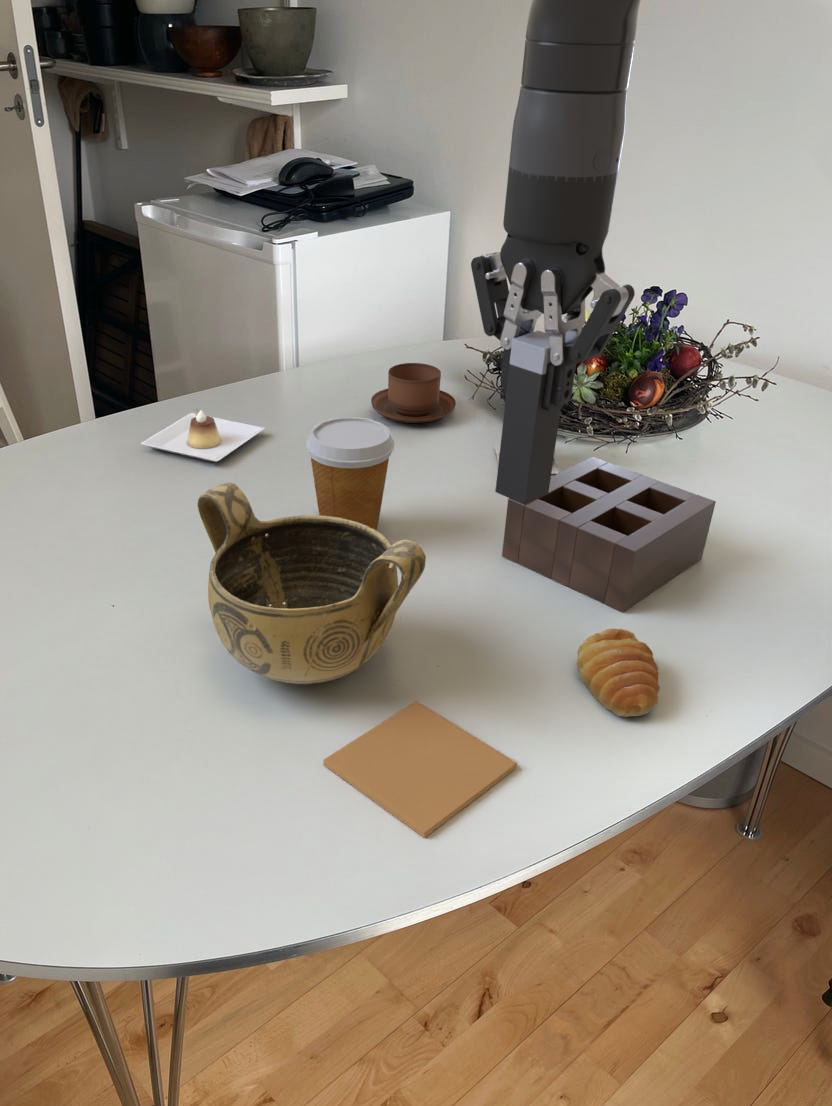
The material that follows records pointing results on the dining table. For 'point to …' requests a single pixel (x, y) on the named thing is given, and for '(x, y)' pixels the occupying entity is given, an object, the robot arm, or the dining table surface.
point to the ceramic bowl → (302, 588)
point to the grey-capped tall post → (527, 423)
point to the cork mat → (420, 767)
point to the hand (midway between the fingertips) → (533, 400)
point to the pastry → (619, 672)
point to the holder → (608, 532)
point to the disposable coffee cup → (350, 467)
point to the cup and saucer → (413, 395)
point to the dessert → (202, 437)
